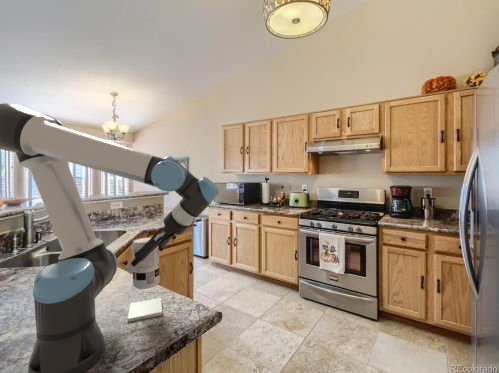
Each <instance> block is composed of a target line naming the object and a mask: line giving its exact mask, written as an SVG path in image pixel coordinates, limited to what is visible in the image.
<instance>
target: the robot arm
mask: <svg viewBox="0 0 499 373" xmlns="http://www.w3.org/2000/svg"><path fill="white" fill-rule="evenodd" d="M0 150H2V151H7V152H11V153H15V154H16V156H17V160H18V162H19V165H20V166H22V167H23V168H25V169H28V170H30V172H31V176H32V178H33V181H34V182H35V185H36V188H37V190H38V193H39V195H40V197H41V200H42V203H43V205H44V208H45V210H46V212H47V215H48V218H49V220H50V223H51V225H52V229H53V230H54V233H55V235H56V238H57V241H58V243H59V245H60V248H61V253H60V254H59V255H58V257H57V258H58V262H57V263H51V264H49V265H48V266H45V267H44V268H43V269H41V270H40V271H39V272H38V273H37V274H36V275H35V277H34V280H33V289H32V296H33V301H34V303H33V304H34V314H35V331H36V340H35V343H34V347H33V349H32V352H31V355H30V358H29V362H28V366H27V372H28V373H84V372H86V371H87V370H88V369H89V370H90V368H91V367H93V366H94V365H96V363H97V362H98V361H100V359H101V358H102V357H103V355H104V353H105V351H106V344H105V342H106V341H105V337H104V335H103V332H102V330H101V329H100V326H99V325H98V323H97V320H96V302H95V301H96V298H97V297H98V295H99V294H100V293H101V292H102V291H103V290H104V289H105V288H106V286H108V285H109V284H110V283H111V282H112V280H113V279H114V278H115V275H116V273H117V270H118V263H119V262H118V258H117V257H116V255H115V253H114V252H113V251H112V250H111V249H108V248H107V246H106V244H105V242H104V240H102V239H100V238H98V237H97V236H96V234H95V232H94V229H93V226H92V224H91V221H90V218H89V215H88V213H87V211H86V208H85V206H84V203H83V200H82V198H81V195H80V192H79V190H78V187H77V185H76V182H75V178H74V177H73V175H72V171H71V169H70V166H69V163H73V164H75V165H79V166H82V167H85V168H89V169H93V170H95V171H100V172H102V173H107V174H111V175H113V176H116V177H119V178H120V177H121V178H124V179H128V180H130V181H135V182H138V183H141V184H146V185H147V186H152V187H155V188H157V189H159V190H160V191H164V192H168V193H171V192H175V193H176V194H177V195H178V196H180V197H181V199H180V200H179V202H178V203H177V204H176V205H175V206H174V207H173V208H172V209H171V211H170V212H169V213H168V214H167V215H166V216H165V217H164V219H163V225H164V227H162V228H160V229H159V230H158V232H155V233H154V234H153V235H152V238H151V239H150V240H149V241H148V242H147V243H146V244H145V245H144V246H143V247H142V248H141V249H140V250H139V251H138V252H135V255H134V256H135V257H134V259H133V260H132V259H131V261H130V262H129V263H127V265H126V266H125V268H124V270H126V272H127V273H129V275H133V272H134V271H135V270H136V269H137V267H138V266H139V265H140V264H141V263H142V262H143V261H144V259H145V258H146V257H147V256H148V255H149V254H150V253H151V252H152V251H153V250H154V249H155V248H156V247H157V246H159V252H163V251H164V249H163V248H165V247H166V245H167V244H168V243H169V242H170V241H171V240H172V239H173V238H174V237H175V235H177V236H178V235H179V236H180V235H182V234H183V233H184V232H185V231H186V230H187V229H188V228H189V227H190V226H191V225H192V224H193V223H197V218H198V217H199V216H200V215H201V214H202V213H203V212H204V211H205V210H206V209H207V208H208V207H209V206H210V205H211V204H212V203H213V201H214V200H215V199H216V198H217V197H218V195H219V194H220V193H219V192H220V190H219V188H218V186H217V185H216V184H215V183H214V181H213V180H211V179H209V178H208V177H205V176H203V177H201V178H197V177H196V176H195V175H194V174H192V173H191V172H190V171H189V170H188V169H187V168H185V166H183V165H182V164H181V163H180V161H178V160H177V159H176V158H174V157H173V156H171V155H168V156H166V157H164V158H162V157H159V156H155V155H153V154H149V153H147V152H144V151H140V150H137V149H133V148H131V147H128V146H124V145H122V144H121V145H120V144H118V143H115V142H112V141H108V140H106V139H102V138H98V137H95V136H92V135H89V134H87V133H82V132H79V131H76V130H73V129H69V128H67V126H65V125H64V123H62V122H60V121H59V120H58V119H56V118H55V117H52V116H50V115H48V114H45V113H40V112H37V111H35V110H32V109H31V108H28V107H25V106H22V105H19V104H15V103H3V102H2V103H0ZM68 162H69V163H68Z"/></svg>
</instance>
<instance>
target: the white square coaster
mask: <svg viewBox="0 0 499 373" xmlns="http://www.w3.org/2000/svg"><path fill="white" fill-rule="evenodd" d="M162 303H163V302H162V297H159V298H158V297H157V298H152V299H146V300H142V301H137V302H130V304H129V309H128V315H127V322H134V321H140V320H145V319H149V318H150V319H151V318H154V317H159V316H162V315H163V307H162V306H163V304H162Z"/></svg>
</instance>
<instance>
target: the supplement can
mask: <svg viewBox="0 0 499 373" xmlns="http://www.w3.org/2000/svg"><path fill="white" fill-rule="evenodd" d="M152 237H153V236H152ZM152 237H150V236H149V237H147V236H146V237H141V238H136V239H134V240H133V241H132V245H131V246H130V247H131V261H132V260H133V259H134V257H135V256H134V255H135V252H138V251H139V250H140V249H141V248H142V247H143V246H144V245H145V244H146V243H147V242H148V241H149V240H150V239H151V238H152ZM160 275H161V274H160V250H159V246H157V247H156V248H155V249H154V250H153V251H152V252H151V253H150V254H149V255H148V256H147V257H146V258H145V259H144V261H143V262H142V263H141V264H140V265H139V266H138V267H137V269H136V270H135V271H134V272H133V273H132V285H133V287H134V288H136V289H138V290H147V289H150V288H151V289H152V288H153V287H156V286H157V285H158V283H160V281H161V277H160Z"/></svg>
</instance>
